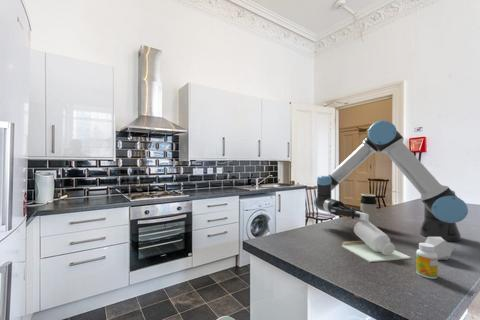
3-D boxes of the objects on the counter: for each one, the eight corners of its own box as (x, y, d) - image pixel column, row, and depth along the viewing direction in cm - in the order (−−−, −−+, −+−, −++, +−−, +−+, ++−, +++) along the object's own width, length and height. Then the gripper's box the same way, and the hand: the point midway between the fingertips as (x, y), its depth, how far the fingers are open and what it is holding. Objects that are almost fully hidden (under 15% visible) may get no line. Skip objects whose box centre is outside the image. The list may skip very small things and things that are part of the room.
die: (456, 267, 81) (461, 242, 84) (431, 253, 82) (438, 229, 85) (437, 265, 88) (443, 243, 91) (415, 253, 90) (421, 231, 93)
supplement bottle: (411, 271, 76) (411, 241, 76) (426, 270, 76) (426, 241, 77) (426, 279, 71) (426, 247, 71) (442, 278, 71) (442, 247, 71)
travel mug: (363, 227, 127) (363, 195, 128) (358, 224, 135) (358, 193, 136) (379, 228, 126) (378, 195, 126) (373, 224, 134) (373, 194, 134)
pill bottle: (372, 223, 101) (401, 246, 87) (360, 237, 102) (387, 261, 88) (362, 216, 98) (391, 238, 84) (349, 229, 99) (376, 254, 85)
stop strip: (342, 245, 100) (342, 241, 100) (373, 243, 103) (373, 239, 103) (343, 246, 99) (343, 242, 99) (375, 243, 102) (375, 240, 102)
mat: (341, 246, 98) (341, 245, 98) (377, 243, 102) (377, 242, 102) (369, 262, 83) (369, 260, 83) (411, 258, 86) (411, 257, 86)
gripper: (345, 213, 120) (380, 226, 97) (322, 214, 118) (353, 227, 94) (345, 199, 120) (380, 208, 97) (322, 200, 118) (353, 209, 94)
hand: (367, 217), depth 96 cm, fingers closed
